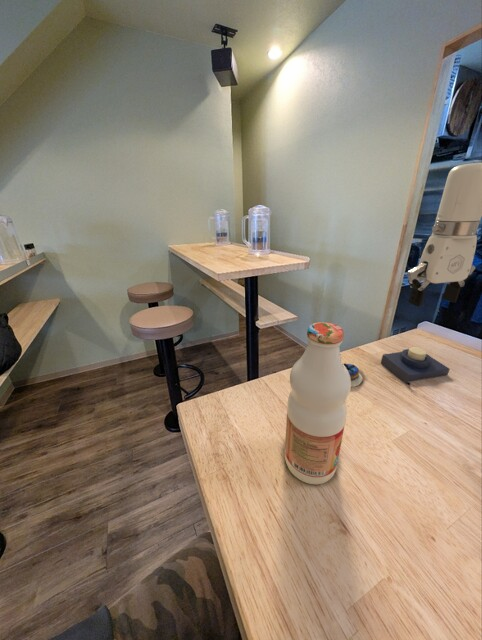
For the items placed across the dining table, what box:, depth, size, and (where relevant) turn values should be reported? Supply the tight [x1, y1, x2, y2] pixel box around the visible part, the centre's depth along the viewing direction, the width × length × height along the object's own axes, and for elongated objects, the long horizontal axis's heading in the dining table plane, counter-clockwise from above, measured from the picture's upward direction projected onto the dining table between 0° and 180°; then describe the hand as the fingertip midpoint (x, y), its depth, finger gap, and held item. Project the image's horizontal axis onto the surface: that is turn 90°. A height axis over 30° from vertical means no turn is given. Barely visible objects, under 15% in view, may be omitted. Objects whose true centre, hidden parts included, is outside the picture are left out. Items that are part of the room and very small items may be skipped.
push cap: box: [408, 346, 428, 361], centre depth 68 cm, size 4×4×2 cm
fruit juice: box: [284, 321, 352, 485], centre depth 41 cm, size 9×9×28 cm
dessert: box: [343, 362, 363, 388], centre depth 68 cm, size 8×7×6 cm
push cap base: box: [380, 348, 451, 386], centre depth 69 cm, size 12×10×5 cm
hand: (431, 302), depth 62 cm, fingers open, 9 cm apart
